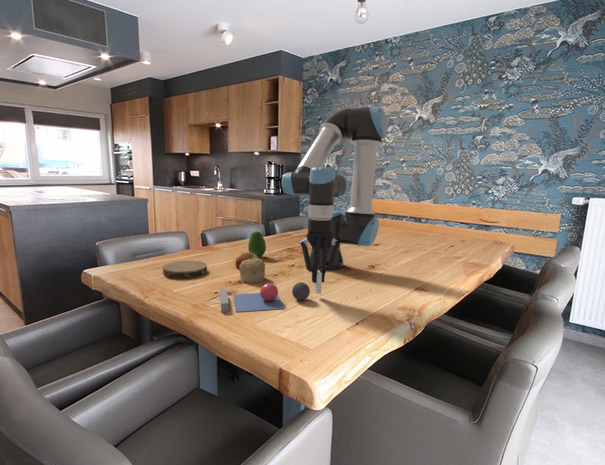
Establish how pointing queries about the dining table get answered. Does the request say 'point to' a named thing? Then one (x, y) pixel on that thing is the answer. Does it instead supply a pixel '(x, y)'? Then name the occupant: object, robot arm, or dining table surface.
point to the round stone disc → (184, 269)
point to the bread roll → (244, 258)
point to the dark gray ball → (301, 291)
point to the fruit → (257, 244)
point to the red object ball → (269, 292)
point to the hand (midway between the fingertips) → (317, 292)
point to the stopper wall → (224, 300)
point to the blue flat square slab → (255, 303)
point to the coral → (252, 270)
